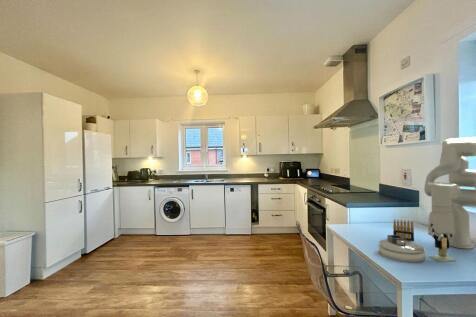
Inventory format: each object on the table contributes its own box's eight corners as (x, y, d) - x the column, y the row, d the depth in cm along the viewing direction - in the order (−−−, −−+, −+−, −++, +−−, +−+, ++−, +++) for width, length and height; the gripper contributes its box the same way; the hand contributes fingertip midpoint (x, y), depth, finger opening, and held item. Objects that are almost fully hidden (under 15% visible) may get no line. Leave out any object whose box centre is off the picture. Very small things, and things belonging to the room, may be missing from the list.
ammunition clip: (393, 238, 160) (392, 219, 160) (393, 237, 162) (392, 218, 162) (414, 241, 154) (413, 221, 154) (414, 240, 156) (413, 220, 156)
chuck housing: (405, 247, 143) (405, 241, 143) (436, 261, 123) (436, 254, 123) (370, 249, 141) (370, 242, 141) (396, 263, 121) (396, 256, 121)
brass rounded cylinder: (436, 254, 126) (436, 236, 126) (442, 254, 127) (442, 235, 127) (443, 257, 123) (443, 238, 123) (448, 256, 124) (448, 237, 124)
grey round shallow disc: (374, 241, 143) (374, 234, 143) (411, 242, 140) (411, 235, 140) (388, 253, 124) (388, 245, 124) (432, 255, 121) (432, 246, 121)
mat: (444, 256, 129) (444, 255, 129) (455, 261, 123) (455, 259, 123) (429, 257, 128) (429, 255, 128) (440, 262, 122) (440, 260, 122)
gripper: (449, 208, 130) (450, 245, 130) (419, 208, 129) (420, 246, 128) (464, 210, 123) (465, 250, 123) (432, 211, 121) (432, 251, 121)
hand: (442, 247), depth 125 cm, fingers closed on brass rounded cylinder, 3 cm apart
